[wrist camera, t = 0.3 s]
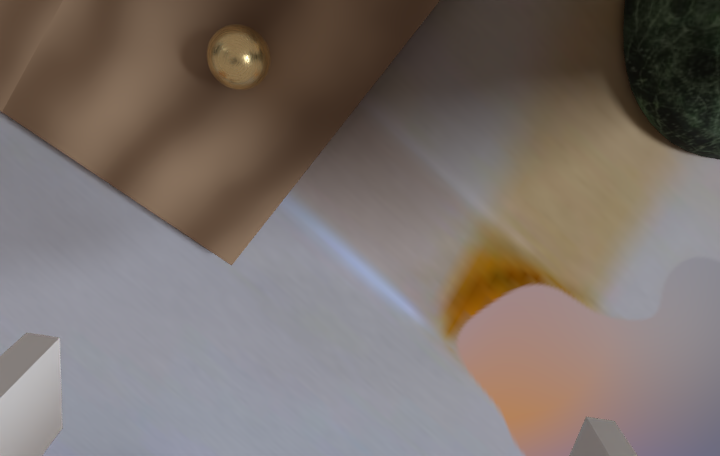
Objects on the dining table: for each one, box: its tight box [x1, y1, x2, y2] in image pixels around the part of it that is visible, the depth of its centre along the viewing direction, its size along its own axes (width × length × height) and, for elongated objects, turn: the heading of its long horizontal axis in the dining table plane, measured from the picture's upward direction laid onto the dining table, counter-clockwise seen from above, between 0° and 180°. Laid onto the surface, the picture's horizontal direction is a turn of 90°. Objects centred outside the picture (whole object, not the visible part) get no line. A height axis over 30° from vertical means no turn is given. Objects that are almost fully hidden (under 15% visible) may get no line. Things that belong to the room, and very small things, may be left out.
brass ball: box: [207, 24, 271, 90], centre depth 28 cm, size 4×4×4 cm
